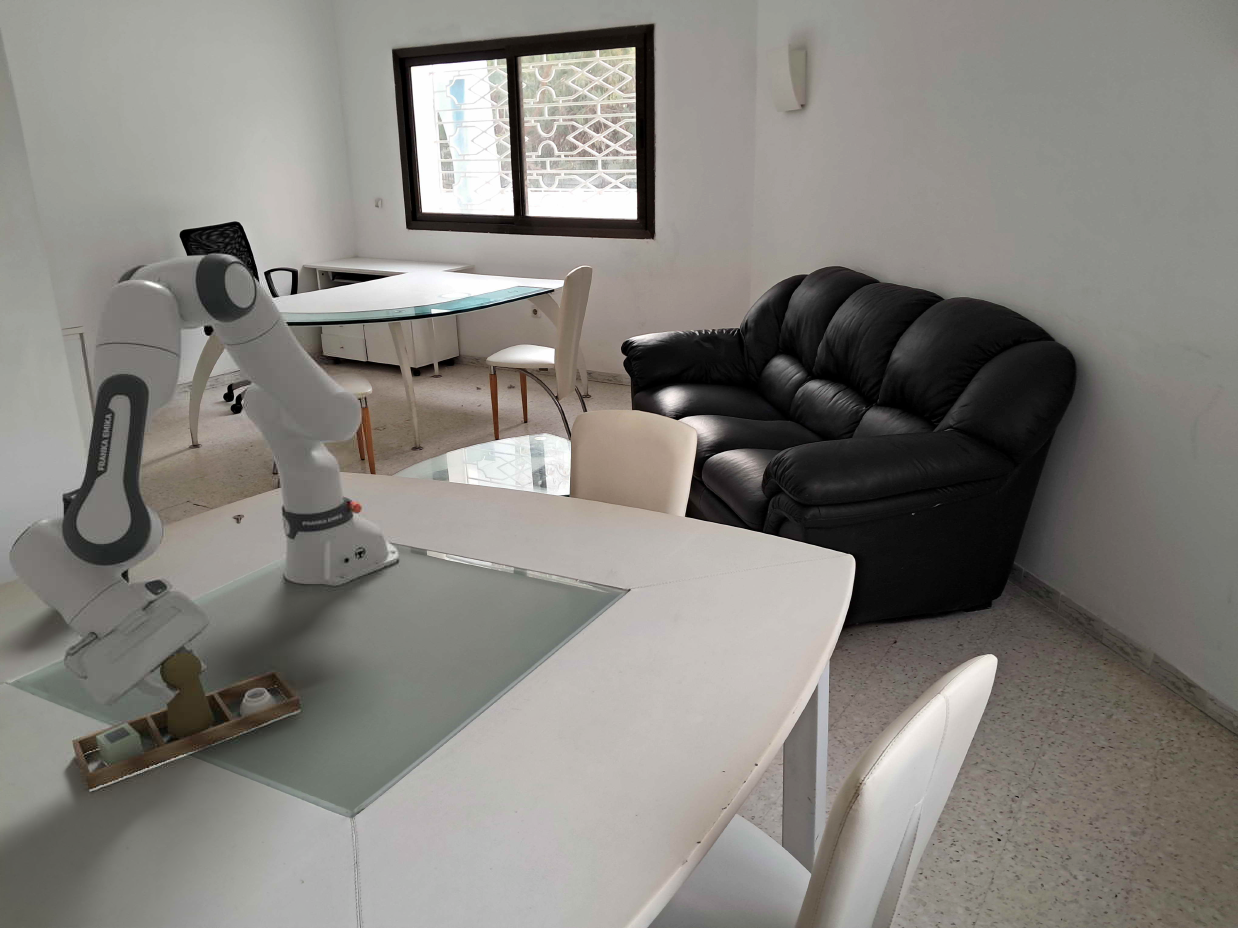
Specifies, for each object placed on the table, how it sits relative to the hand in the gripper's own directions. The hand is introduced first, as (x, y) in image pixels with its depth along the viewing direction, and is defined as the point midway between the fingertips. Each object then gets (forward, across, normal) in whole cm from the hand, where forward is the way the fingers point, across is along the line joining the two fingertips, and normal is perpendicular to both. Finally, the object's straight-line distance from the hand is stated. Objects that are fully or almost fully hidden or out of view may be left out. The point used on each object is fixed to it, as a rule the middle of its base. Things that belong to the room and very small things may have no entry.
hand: (188, 685), depth 123 cm
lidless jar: (+10, +7, +2) cm, 12 cm away
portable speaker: (-26, +38, +38) cm, 60 cm away
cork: (+4, 0, +5) cm, 7 cm away
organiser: (+5, 0, +6) cm, 8 cm away
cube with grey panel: (+1, -7, +10) cm, 13 cm away
